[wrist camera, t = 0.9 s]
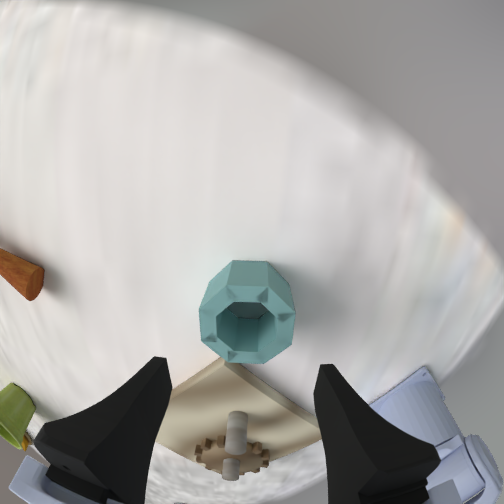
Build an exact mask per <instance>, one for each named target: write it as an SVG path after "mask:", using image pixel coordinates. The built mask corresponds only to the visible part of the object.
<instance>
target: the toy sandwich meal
mask: <svg viewBox="0 0 504 504" xmlns="http://www.w3.org/2000/svg"><path fill="white" fill-rule="evenodd" d="M21 445H22V448H23V450H24V451H26V450H27V447H28V445H32V441H31V438H30V436H29V435H28V434H27V432H26V431H25V433H24V436H23V441H22V444H21Z"/></svg>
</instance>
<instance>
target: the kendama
mask: <svg viewBox="0 0 504 504" xmlns="http://www.w3.org/2000/svg"><path fill="white" fill-rule="evenodd" d="M0 275H1V276H2V277H3V278H4V279H6V280H7V281H8V282H9V283H10V284H11V285H12V286H13V287H14V288H15V289H16V290H17V291H18V292H19V293H20V294H22V295H23V296H24V297H25V298H26V299H27V300H29V301H32V300H34V299H35V298H36V297H37V296H38V295H39V293H40V291H41V289H42V287H43V280H44V269H43V268H41V267H39V266H37V265H34V264H32V263H30V262H28V261H26V260H24V259H21V258H19V257H17V256H15V255H13V254H11V253H9V252H7V251H5V250H3V249H1V248H0Z"/></svg>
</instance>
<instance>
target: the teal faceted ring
mask: <svg viewBox="0 0 504 504" xmlns="http://www.w3.org/2000/svg"><path fill="white" fill-rule="evenodd" d="M233 302H260V303H261V304H262V305H264V306H265V307H266V308H267V309H268V310H269V311H268V312H267V313H265V314H264V315H263V316H262V317H260V318H259V319H244V318H238V317H236V316H235V315H234V314H233V313H232V312H231V311H230V310H229V309H227V307H228V306H229V305H230V304H231V303H233ZM199 320H200V332H201V341H202V342H203V343H204V344H205V345H207V346H208V347H209V348H210V349H212V350H213V351H214V352H215V353H217V354H218V355H219V356H220V357H222V358H223V359H224V360H226V361H227V362H231V363H254V364H264V363H266V362H267V361H269V360H270V359H272V358H273V357H275V356H276V355H277V354H279V353H280V352H282V351H283V350H285V349H286V348H287V347H289V346H290V345H292V338H293V330H294V321H295V309H294V304H293V300H292V295H291V291H290V287H289V284H288V283H287V282H286V281H285V280H284V279H283V278H282V277H281V276H280V275H279V274H278V273H277V271H276V270H275V269H274V268H273V267H272V266H271V265H270V264H269V263H268V262H264V261H232V262H230V263H229V264H228V265H227V266H226V267H225V268H224V269H223V270H222V271H221V272H220V273H218V274H217V275H216V276H215V277H214V278H213V279H212V280H211V281H210V282H209V284H208V287H207V290H206V292H205V295H204V297H203V300H202V302H201V305H200V307H199Z"/></svg>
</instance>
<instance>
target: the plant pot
mask: <svg viewBox="0 0 504 504" xmlns="http://www.w3.org/2000/svg"><path fill="white" fill-rule="evenodd" d="M35 410H36V407H35V406H34V405H33V403H32V400H31V399H30V397H29V396H28V395H27V394H26V393H25V392H24V391H23V390H22V389H21V388H20V387H18V386H15V385H14V384H13V383H10V384H9V385H8V386H6V387H5V388H4V389H3V390H2V391H0V435H1V436H2V437H3V438H4V439H5V440H7V441H8V442H9V443H10V444H12V445H13V446H15V447H16V448H18V449H22V445H21V444H22V441H23V436H24V433H25V431H26V429H27V427H28V424H29V422H30V420H31V418H32V416H33V414H34V412H35Z"/></svg>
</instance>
